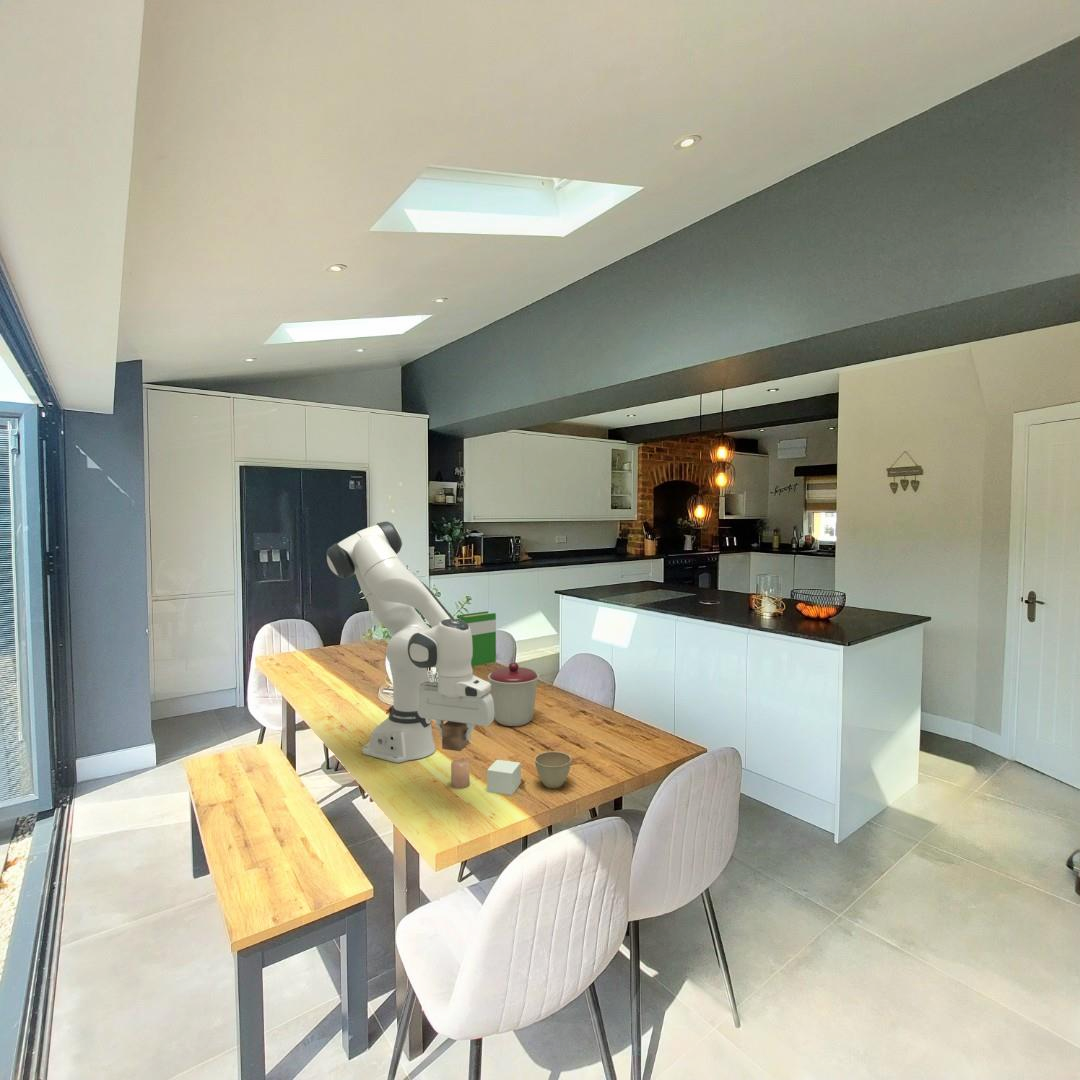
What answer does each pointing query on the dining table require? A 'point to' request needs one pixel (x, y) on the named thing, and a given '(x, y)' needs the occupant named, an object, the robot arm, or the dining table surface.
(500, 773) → the grey block
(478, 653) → the hardback book
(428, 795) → the dining table surface
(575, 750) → the dining table surface
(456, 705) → the robot arm
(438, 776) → the dining table surface
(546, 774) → the flower pot
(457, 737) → the walnut block
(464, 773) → the terracotta cylinder
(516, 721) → the canister
